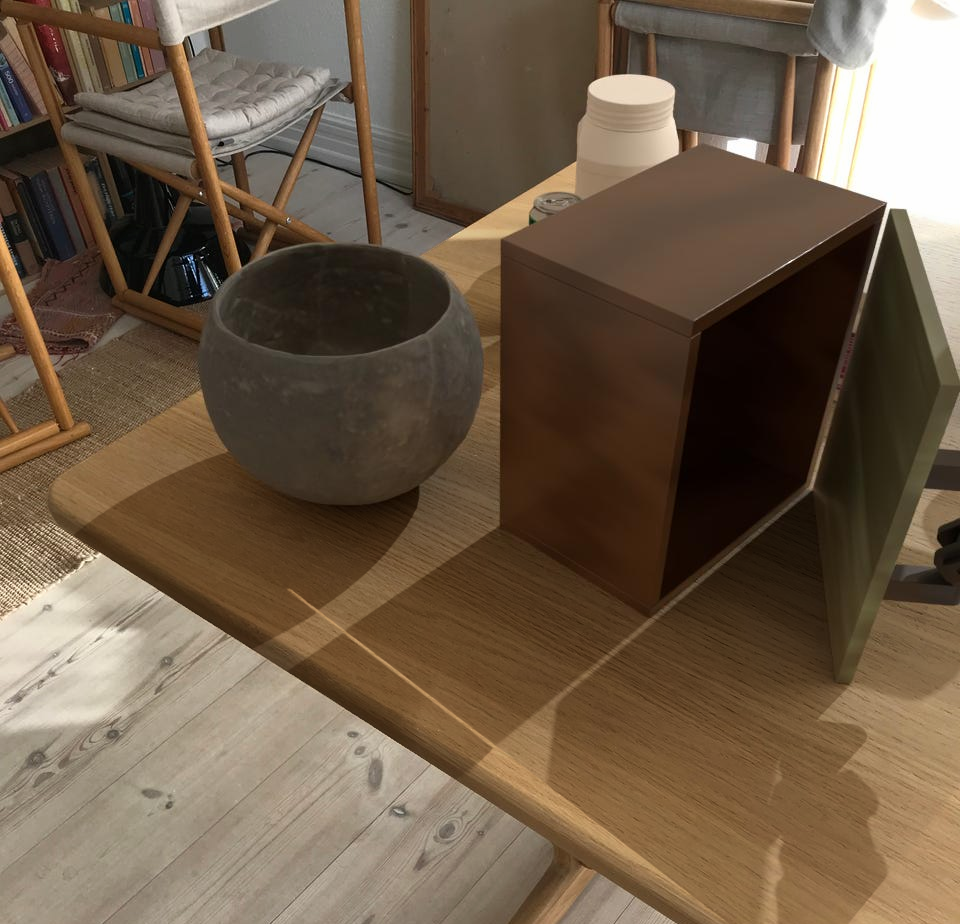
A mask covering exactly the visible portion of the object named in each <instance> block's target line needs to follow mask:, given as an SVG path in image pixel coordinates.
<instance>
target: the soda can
mask: <svg viewBox="0 0 960 924" xmlns="http://www.w3.org/2000/svg"><path fill="white" fill-rule="evenodd" d="M581 200H583V199H582V198H581V197H580V196H578V195H576V194H575V193H572V192H569V191H568V192H567V191H549V192H545V193H542V194H540V195H538V196H536V197H535V198H534V200H533V206H532V207H531V209H530V210H529V212H528V226H529V225H531V224H533V223H535V222H537V221H539V220H542V219H544V218H546V217H548V216H550V215H552V214H554V213H556V212H558V211H560V210H563V209H565V208H567V207H569V206H571V205H573V204H575V203H577V202H579V201H581Z"/></svg>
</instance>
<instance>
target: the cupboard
mask: <svg viewBox="0 0 960 924" xmlns="http://www.w3.org/2000/svg"><path fill="white" fill-rule="evenodd" d="M887 207H888V202H887V201H884V200H881V199H877V198H874V197H871V196H869V195H866V194H862V193H859V192H857V191H852V190H849V189H846V188H844V187H841V186H837V185H835V184H831V183H828V182H826V181H822V180H818V179H815V178H813V177H810V176H806V175H803V174H800V173H798V172H794V171H791V170H789V169H785V168H781V167H778V166H775V165H772V164H769V163H766V162H763V161H760V160H757V159H753V158H751V157H748V156H744V155H741V154H738V153H735V152H732V151H728V150H726V149H724V148H719V147H717V146H713V145H711V144H708V143H704V142H702V143H699V144H697V145H695V146H693V147H691V148H689V149H687V150H685V151H683V152H679V154H678V155H676V156H674V157H672V158H670V159H668V160H665V161H663V162H661V163H659V164H657V165H655V166H653V167H651V168H649V169H647V170H644V171H642V172H640V173H638V174H636V175H634V176H632V177H630V178H628V179H626V180H623V181H621V182H619V183H617V184H615V185H613V186H611V187H609V188H607V189H605V190H602V191H600V192H598V193H596V194H594V195H592V196H590V197H588V198H586V199H584V200H581V201H579V202H577V203H575V204H573V205H571V206H569V207H567V208H565V209H563V210H560V211H558V212H556V213H554V214H552V215H550V216H548V217H546V218H544V219H542V220H539V221H537V222H535V223H533V224H531V225H529V224H528V225H527V226H525V227H523V228H521V229H519V230H516V231H514V232H512V233H510V234H507V235H506V236H504V237H502V238H500V290H499V291H500V293H499V294H500V298H499V299H500V300H499V301H500V306H499V307H500V308H499V309H500V310H499V311H500V313H499V314H500V315H499V319H500V320H499V321H500V323H499V328H500V329H499V334H500V335H499V343H500V344H499V360H500V361H499V367H500V368H499V527H501V529H504V530H505V531H507V532H508V533H510V534H512V535H513V536H515V537H517V538H518V539H520V540H522V541H523V542H524V543H526V544H528V545H530V546H532V547H533V548H534V549H536V550H537V551H539V552H541V553H542V554H544V555H546V556H547V557H549V558H551V560H554V561H555V562H557V563H558V564H560V565H561V566H564V567H565V568H566V569H568V570H569V571H572V572H573V573H574V574H577V575H578V576H580V577H581V578H583V579H585V580H586V581H588V582H589V583H591V584H593V585H594V586H596V587H597V588H599V589H601V590H602V591H604V592H606V593H607V594H609V595H611V596H612V597H614V598H615V599H617V600H619V601H620V602H621V603H623V604H625V605H627V606H629V607H630V608H632V610H635V611H636V612H638V613H639V614H641V615H643V616H645V617H646V618H651V617H652V616H653V615H655V614H656V613H657V612H658V611H660V610H661V609H662V608H664V606H665V605H667V604H668V603H669V602H671V601H672V600H673V599H674V598H675V597H677V596H678V595H679V594H680V593H682V592H683V591H684V590H685V589H687V588H688V587H689V586H690V585H691V584H692V583H694V582H695V581H696V580H697V579H699V578H700V577H701V576H702V575H703V574H705V573H706V572H707V571H709V570H710V569H711V568H712V567H713V566H714V565H716V564H717V563H718V562H720V561H721V560H722V559H723V558H725V556H727V555H728V554H730V552H732V551H733V550H734V549H736V548H737V547H738V546H739V545H740V544H741V543H743V542H744V541H745V540H746V539H748V538H749V537H751V535H752V534H754V533H755V532H756V531H757V530H759V529H760V528H761V527H762V526H764V525H765V524H766V523H767V522H768V521H769V520H771V519H772V518H774V517H775V516H776V515H777V514H778V513H780V512H781V511H782V510H783V509H784V508H785V507H787V506H788V505H789V504H791V503H792V502H793V501H794V500H795V499H797V498H798V497H799V496H800V495H801V494H803V493H804V492H805V491H806V490H808V489H809V488H810V486H811V483H812V480H813V477H814V473H815V470H816V465H817V462H818V459H819V455H820V451H821V448H822V444H823V440H824V436H825V432H826V429H827V425H828V422H829V418H830V415H831V412H832V411H831V410H832V407H833V404H834V396H835V393H836V389H837V385H838V382H839V378H840V374H841V371H842V367H843V363H844V360H845V356H846V352H847V349H848V345H849V341H850V338H851V334H852V330H853V327H854V323H855V319H856V316H857V312H858V308H859V305H860V301H861V297H862V294H863V290H864V286H865V283H866V279H867V275H868V273H870V272H869V271H870V268H871V264H872V260H873V257H874V252H875V249H876V245H877V242H878V238H879V235H880V231H881V227H882V224H883V220H884V217H885V213H886V209H887Z"/></svg>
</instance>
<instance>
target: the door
mask: <svg viewBox="0 0 960 924" xmlns="http://www.w3.org/2000/svg"><path fill="white" fill-rule="evenodd" d="M913 229H914V228H913V226H912V223H911V220H910V216H909V213H908V210H907V208H889V210H888V214H887V217H886V221H885V225H884V228H883V231H882V236H881V240H880V243H879V246H878V250H877V253H876V256H875V261H874V265H873V269H872V272H871V273H872V275H871V279H870V283H869V286H868V290H867V293H866V297H865V301H864V304H863V308H862V312H861V315H860V319H859V322H858V326H857V330H856V333H855V337H854V341H853V344H852V348H851V352H850V355H849V359H848V362H847V366H846V370H845V373H844V377H843V381H842V384H841V388H840V391H839V395H838V399H837V401H835V406H834V410H833V414H832V416H831V420H830V424H829V428H828V431H827V436H826V439H825V443H824V446H823V450H822V453H821V457H820V460H819V463H818V467H817V472H816V475H815V479H814V483H813V486H812V495H813V506H814V512H815V522H816V531H817V538H818V539H817V540H818V547H819V555H820V563H821V573H822V581H823V588H824V597H825V606H826V615H827V623H828V633H829V640H830V648H831V657H832V658H831V659H832V665H833V666H832V667H833V674H834V682H835V683H837V684H847V685H851V684H852V683H853V681H854V677H855V675H856V671H857V669H858V666H859V664H860V662H861V659H862V656H863V653H864V651H865V648H866V645H867V642H868V639H869V637H870V634H871V632H872V628H873V626H874V624H875V621H876V618H877V615H878V612H879V610H880V607H881V605H882V602H883V601H891V602H892V601H893V602H902V603H903V602H904V603H911V604H912V603H915V604H923V605H935V606H946V607H956V606H958V605H960V582H958V583H949V582H947V581H946V580H945V579H944V577H943V576H942V575H941V573H940V572H939V571H938V569H937V568H936V566H924V565H923V566H922V565H911V564H901V563H900V564H899V563H897V562H898V559H899V556H900V553H901V551H902V548H903V545H904V543H905V540H906V537H907V535H908V532H909V529H910V527H911V524H912V521H913V518H914V516H915V513H916V510H917V508H918V505H919V502H920V499H921V497H922V494H923V492H924V489H926V490H938V491H949V492H960V449H947V448H940V446H941V444H942V441H943V438H944V435H945V433H946V430H947V428H948V424H949V421H950V419H951V417H952V414H953V412H954V409H955V406H956V403H957V400H958V397H959V396H960V376H959V374H958V370H957V367H956V363H955V360H954V356H953V354H952V351H951V347H950V344H949V341H948V338H947V335H946V332H945V328H944V324H943V322H942V318H941V315H940V312H939V310H938V306H937V303H936V300H935V296H934V294H933V290H932V287H931V283H930V281H929V278H928V274H927V270H926V267H925V265H924V261H923V259H922V255H921V252H920V249H919V245H918V243H917V238H916V235H915V232H914V230H913ZM958 541H960V532H959V535H958V537H957V539H956V542H958Z"/></svg>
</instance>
